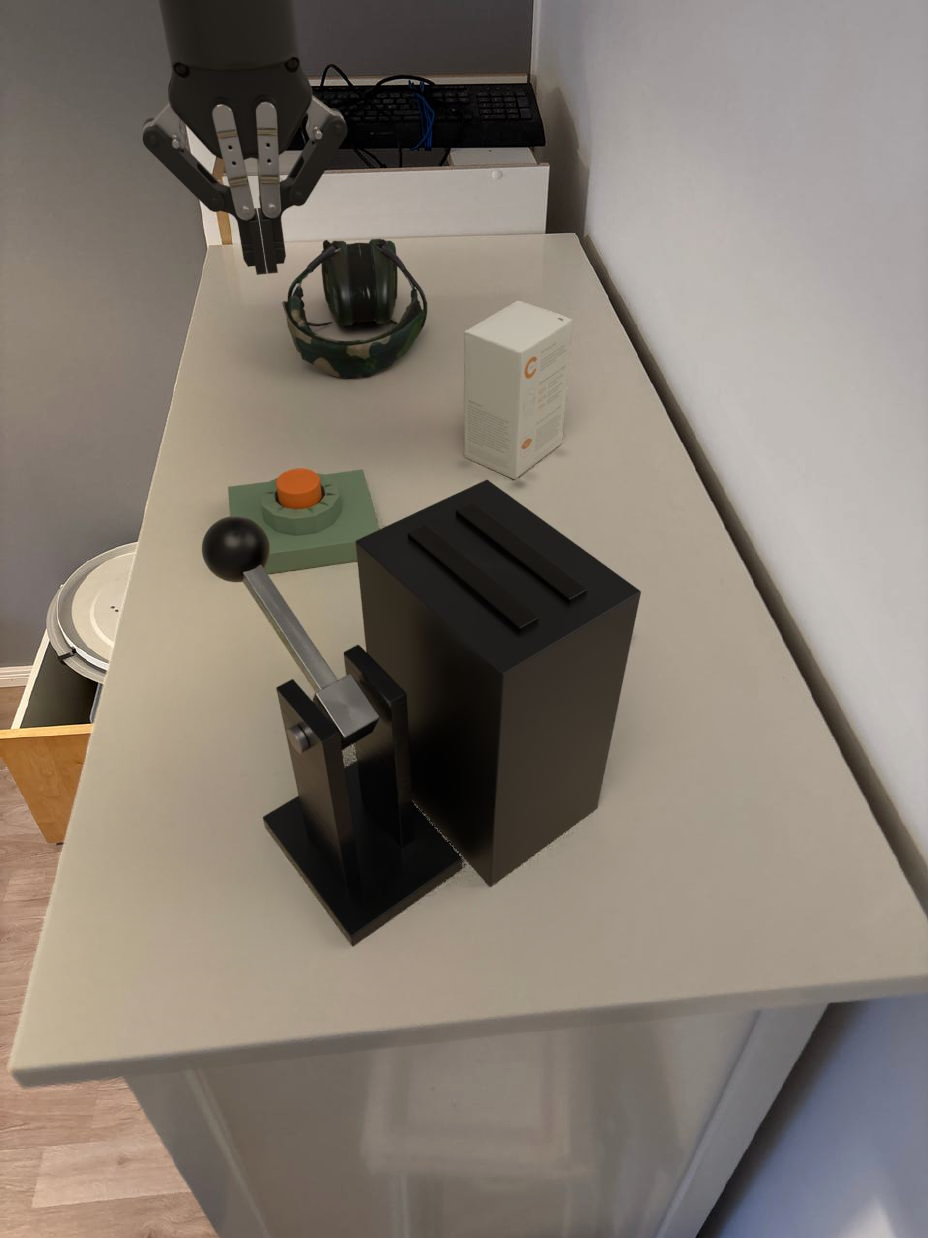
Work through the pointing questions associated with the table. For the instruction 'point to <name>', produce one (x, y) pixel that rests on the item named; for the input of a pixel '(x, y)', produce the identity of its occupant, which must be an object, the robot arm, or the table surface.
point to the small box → (515, 387)
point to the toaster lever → (286, 623)
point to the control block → (309, 521)
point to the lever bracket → (357, 809)
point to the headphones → (356, 308)
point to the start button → (299, 488)
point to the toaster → (498, 668)
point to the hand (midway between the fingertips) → (266, 269)
